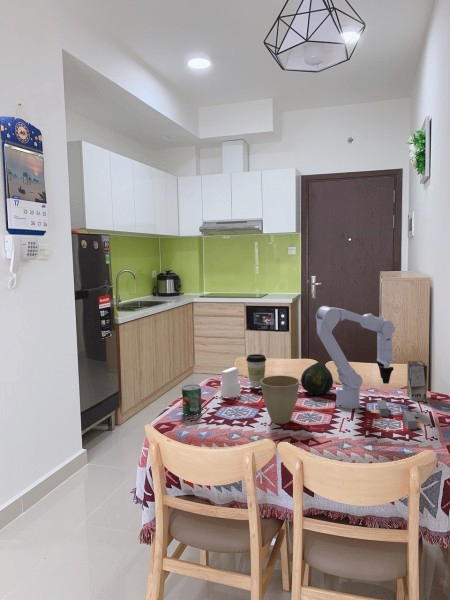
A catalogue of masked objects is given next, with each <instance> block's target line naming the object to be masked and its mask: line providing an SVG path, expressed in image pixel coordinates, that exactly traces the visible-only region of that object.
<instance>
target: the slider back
mask: <svg viewBox="0 0 450 600" xmlns="http://www.w3.org/2000/svg"><path fill="white" fill-rule="evenodd" d="M376 402H377V405H376V406H377V407H376V408H377V412H378V414H379V417H389V407H388V403H387V401H386V400H385V399H378V400H377V401H376Z"/></svg>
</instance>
